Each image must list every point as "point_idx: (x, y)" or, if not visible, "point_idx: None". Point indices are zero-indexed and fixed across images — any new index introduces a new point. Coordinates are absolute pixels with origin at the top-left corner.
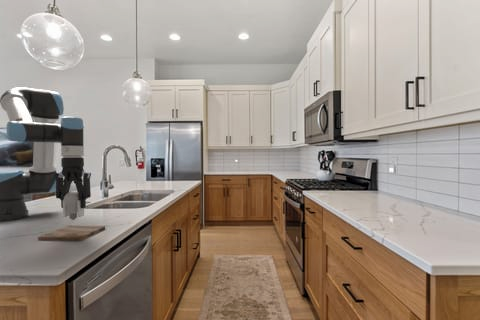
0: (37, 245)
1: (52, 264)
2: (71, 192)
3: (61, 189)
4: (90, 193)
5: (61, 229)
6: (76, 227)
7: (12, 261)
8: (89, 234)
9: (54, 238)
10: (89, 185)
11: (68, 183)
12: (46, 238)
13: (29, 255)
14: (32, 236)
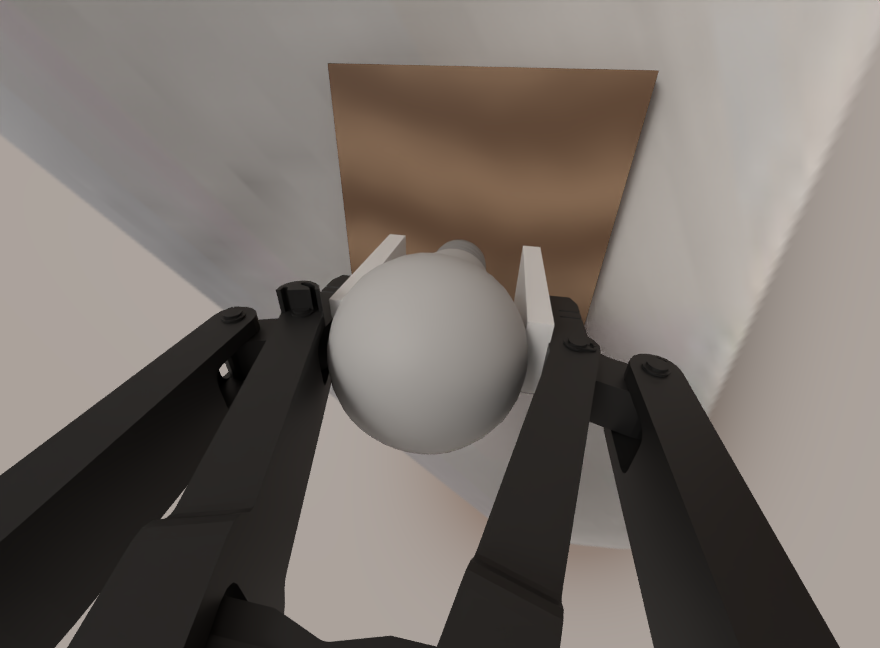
0: None
1: (595, 513)
2: (415, 447)
3: (197, 412)
4: (698, 404)
5: (364, 191)
6: (428, 130)
7: (464, 484)
8: (596, 271)
9: None
10: (771, 568)
11: (272, 557)
12: None
13: (476, 456)
14: (284, 263)
